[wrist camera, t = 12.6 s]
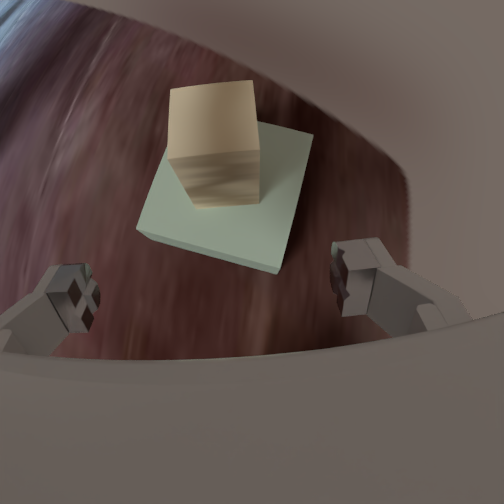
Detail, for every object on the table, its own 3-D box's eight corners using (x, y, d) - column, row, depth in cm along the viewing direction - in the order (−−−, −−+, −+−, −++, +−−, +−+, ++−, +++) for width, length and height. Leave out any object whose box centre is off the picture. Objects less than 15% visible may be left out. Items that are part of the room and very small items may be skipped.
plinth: (150, 239, 29) (136, 228, 25) (191, 129, 31) (184, 107, 27) (277, 274, 28) (280, 268, 24) (307, 155, 30) (313, 134, 27)
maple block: (196, 209, 25) (167, 159, 17) (194, 154, 26) (170, 89, 18) (259, 203, 25) (260, 149, 17) (253, 148, 26) (252, 80, 18)
